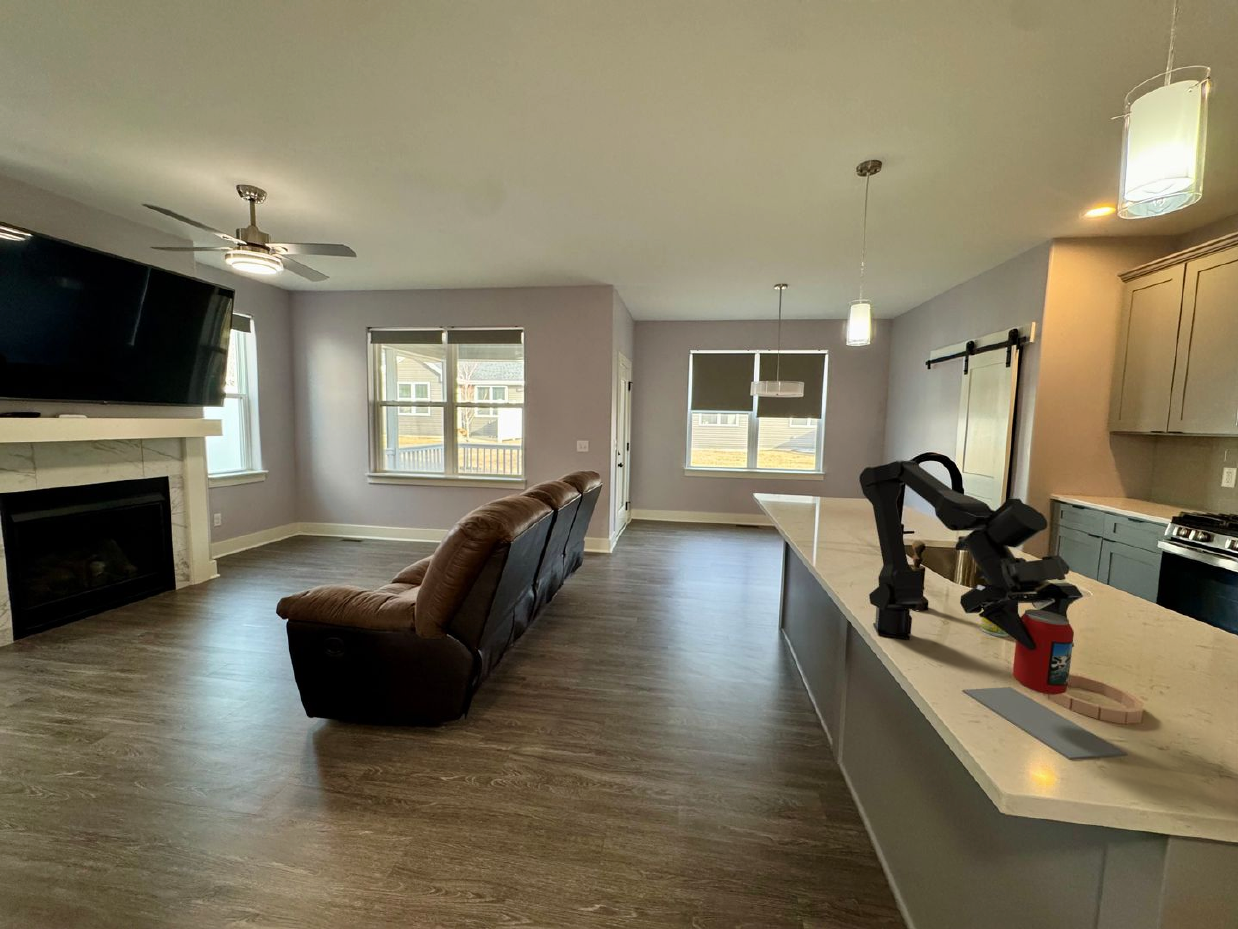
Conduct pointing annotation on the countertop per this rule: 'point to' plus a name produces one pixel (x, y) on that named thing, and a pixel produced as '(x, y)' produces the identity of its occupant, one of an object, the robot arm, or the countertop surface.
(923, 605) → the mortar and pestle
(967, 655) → the countertop surface
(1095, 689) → the segmented polygon ring
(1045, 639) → the beverage can
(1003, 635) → the supplement bottle
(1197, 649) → the countertop surface
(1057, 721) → the mat
